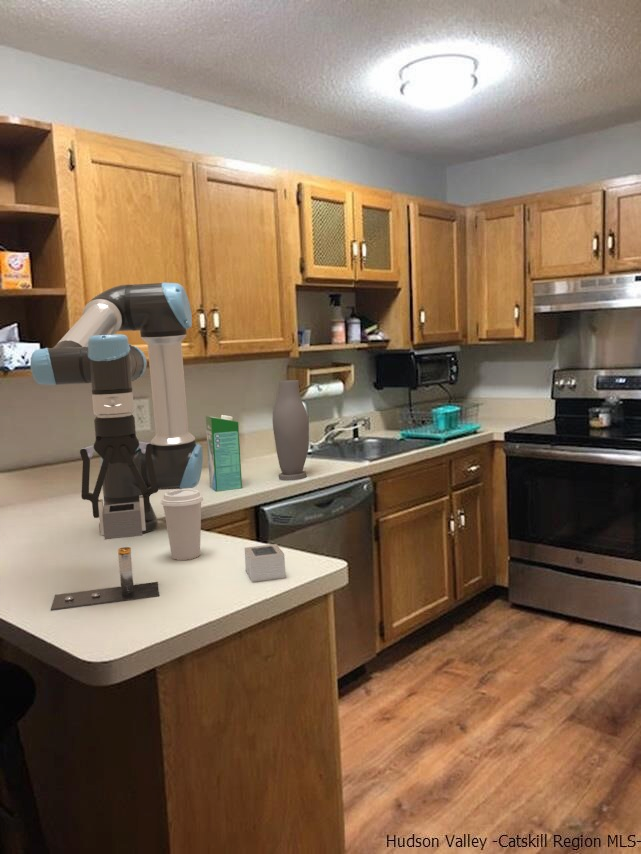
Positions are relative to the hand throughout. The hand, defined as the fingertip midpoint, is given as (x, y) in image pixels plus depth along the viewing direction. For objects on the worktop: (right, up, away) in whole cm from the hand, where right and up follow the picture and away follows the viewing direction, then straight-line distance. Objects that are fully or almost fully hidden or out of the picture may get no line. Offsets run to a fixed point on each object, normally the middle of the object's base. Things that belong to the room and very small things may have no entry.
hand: (123, 530), depth 138 cm
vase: (+29, +2, +115) cm, 118 cm away
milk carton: (+6, 0, +102) cm, 102 cm away
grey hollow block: (0, 0, 0) cm, 0 cm away
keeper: (-3, -13, +1) cm, 13 cm away
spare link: (+27, -10, +10) cm, 31 cm away
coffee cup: (+8, -10, +25) cm, 28 cm away
